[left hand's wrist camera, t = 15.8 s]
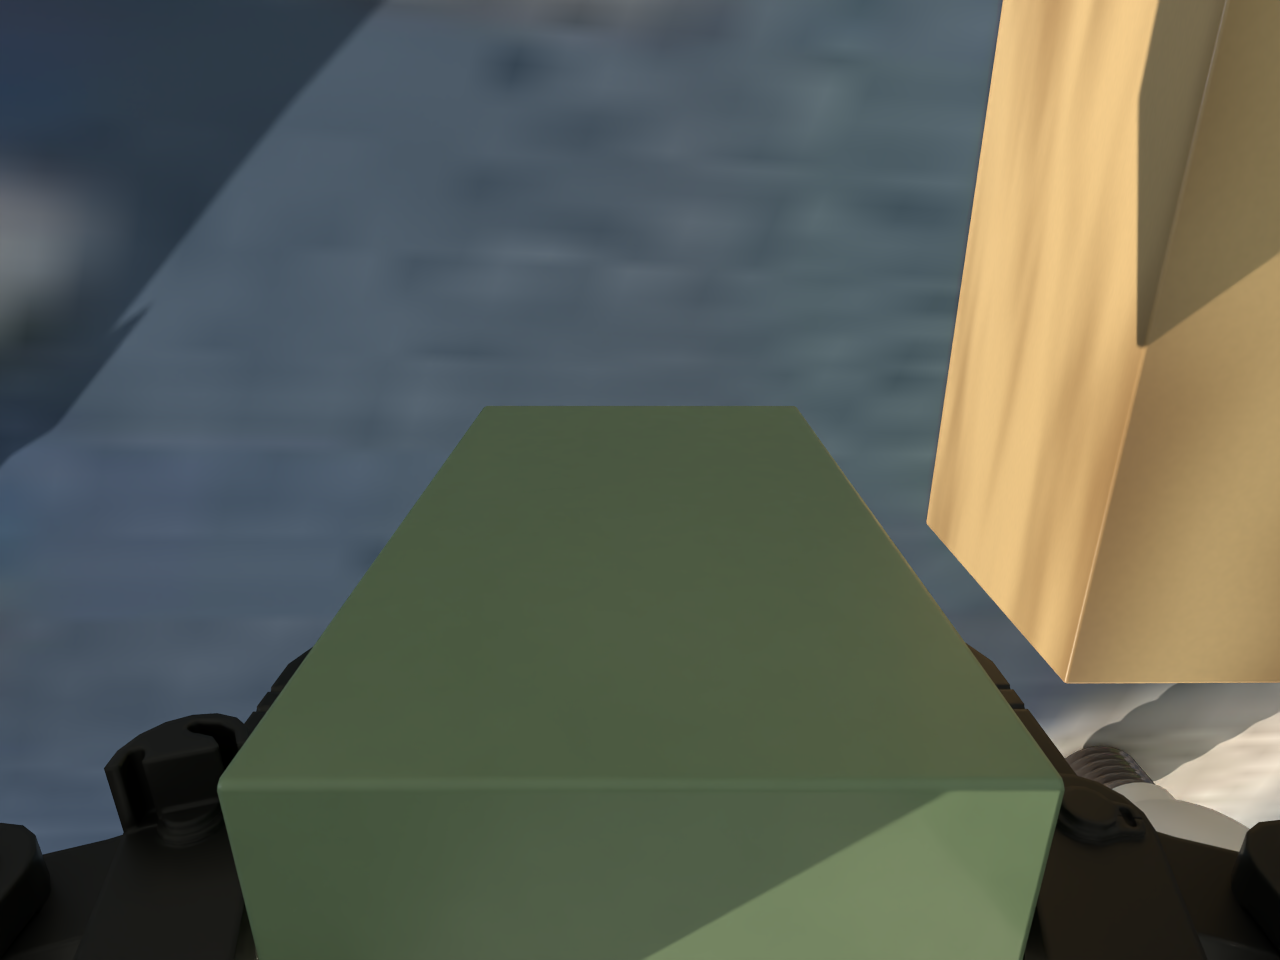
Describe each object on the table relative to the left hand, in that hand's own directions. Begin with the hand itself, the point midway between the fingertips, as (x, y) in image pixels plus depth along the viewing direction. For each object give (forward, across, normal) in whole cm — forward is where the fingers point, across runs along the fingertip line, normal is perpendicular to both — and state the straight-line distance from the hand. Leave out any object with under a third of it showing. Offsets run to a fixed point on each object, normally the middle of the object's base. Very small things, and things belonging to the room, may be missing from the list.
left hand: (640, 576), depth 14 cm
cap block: (+1, 0, 0) cm, 1 cm away
